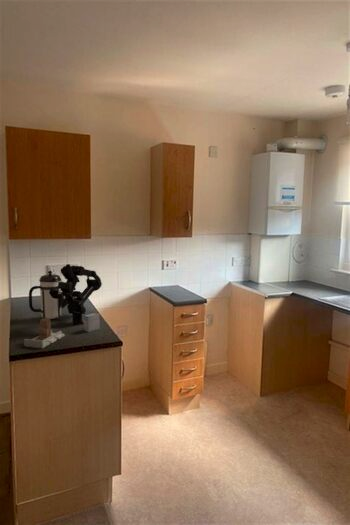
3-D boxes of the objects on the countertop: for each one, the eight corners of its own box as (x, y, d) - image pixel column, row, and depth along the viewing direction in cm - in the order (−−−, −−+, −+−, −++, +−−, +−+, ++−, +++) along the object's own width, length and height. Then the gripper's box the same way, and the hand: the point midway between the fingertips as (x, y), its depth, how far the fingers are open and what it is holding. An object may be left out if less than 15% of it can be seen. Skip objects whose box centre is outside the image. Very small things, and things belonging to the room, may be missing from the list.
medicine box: (95, 327, 217) (94, 312, 216) (100, 329, 214) (99, 314, 213) (83, 330, 211) (83, 315, 210) (88, 332, 208) (88, 317, 207)
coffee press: (51, 314, 245) (50, 268, 241) (69, 317, 237) (68, 270, 233) (29, 320, 230) (26, 271, 226) (47, 324, 222) (45, 273, 218)
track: (48, 334, 205) (47, 327, 204) (64, 335, 202) (64, 329, 202) (24, 346, 185) (23, 339, 185) (42, 348, 183) (41, 341, 182)
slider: (43, 336, 196) (43, 318, 195) (51, 337, 195) (50, 319, 194) (39, 339, 192) (38, 320, 191) (46, 339, 191) (46, 321, 190)
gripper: (50, 275, 212) (38, 298, 203) (80, 276, 207) (70, 301, 198) (58, 286, 220) (48, 309, 211) (87, 288, 215) (78, 312, 206)
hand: (60, 307), depth 206 cm, fingers closed
